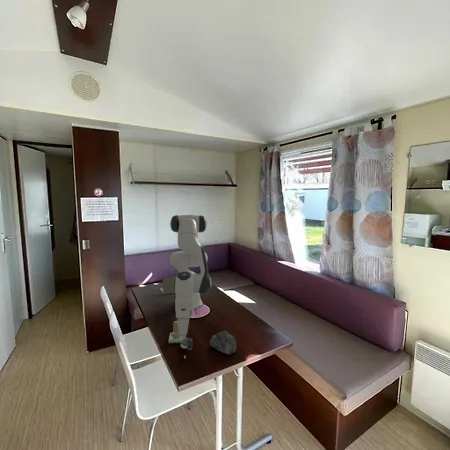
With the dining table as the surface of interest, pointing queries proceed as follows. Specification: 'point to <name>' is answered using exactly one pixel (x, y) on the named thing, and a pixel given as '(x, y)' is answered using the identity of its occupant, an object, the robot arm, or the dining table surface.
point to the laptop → (168, 285)
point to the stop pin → (175, 330)
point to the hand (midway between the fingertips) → (184, 332)
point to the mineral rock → (224, 342)
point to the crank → (187, 343)
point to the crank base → (183, 348)
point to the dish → (175, 339)
